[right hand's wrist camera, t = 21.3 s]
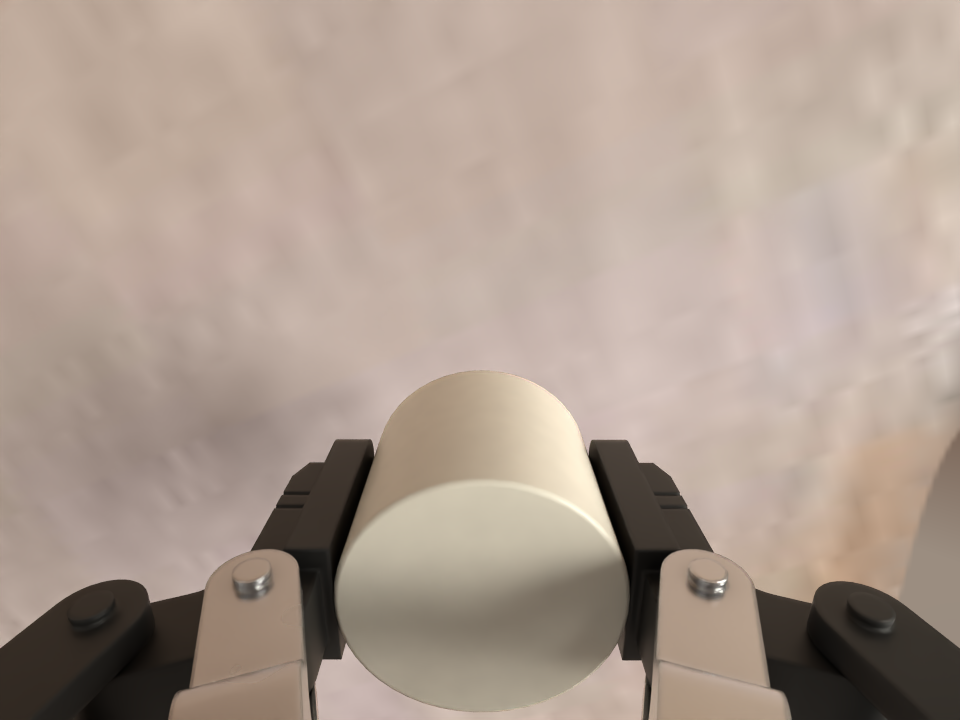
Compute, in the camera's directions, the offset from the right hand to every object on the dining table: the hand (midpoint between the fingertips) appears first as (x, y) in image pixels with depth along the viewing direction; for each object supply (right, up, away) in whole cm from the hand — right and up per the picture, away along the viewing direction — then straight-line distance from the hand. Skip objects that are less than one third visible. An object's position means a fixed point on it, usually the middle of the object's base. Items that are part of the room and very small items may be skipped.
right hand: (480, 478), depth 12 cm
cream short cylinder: (0, 0, +1) cm, 1 cm away
